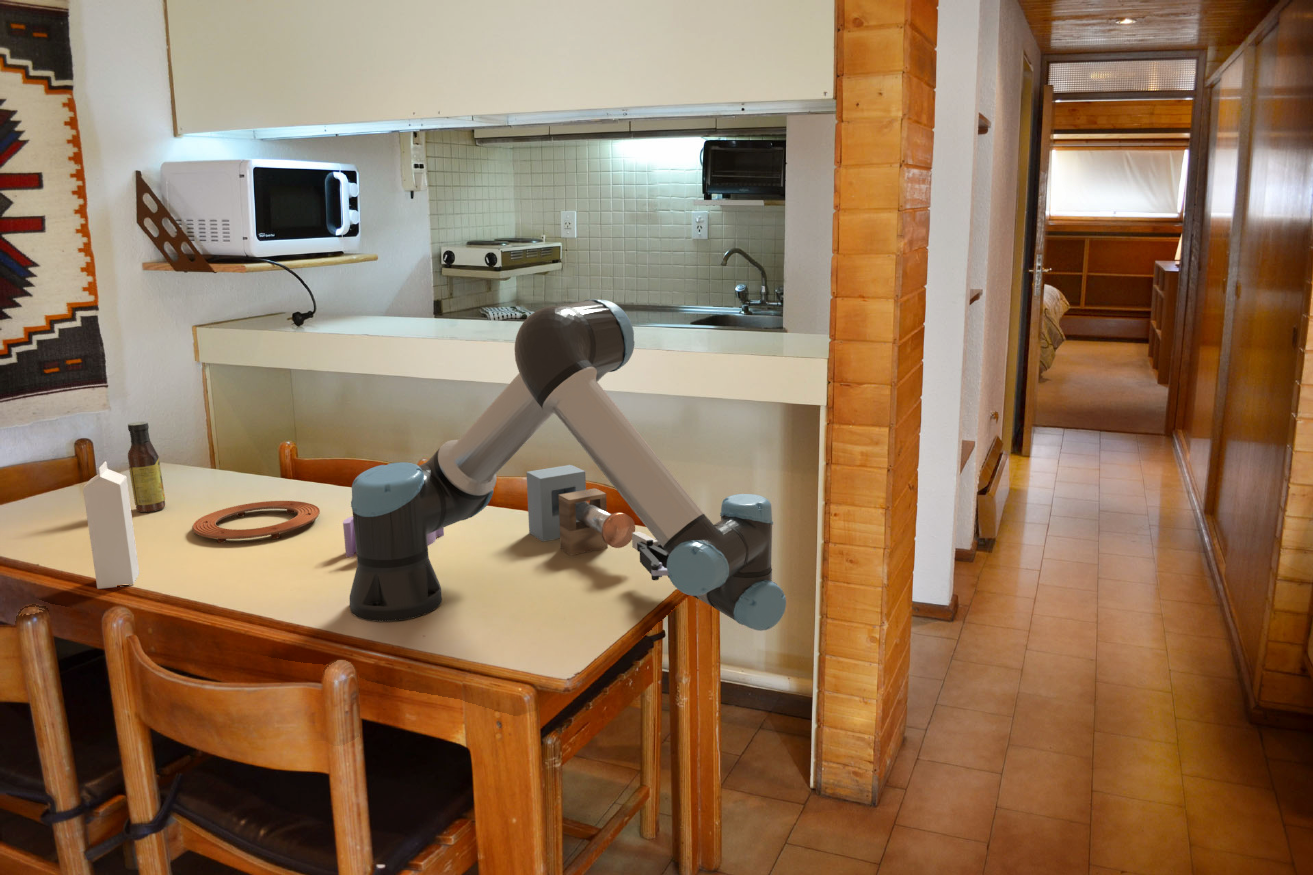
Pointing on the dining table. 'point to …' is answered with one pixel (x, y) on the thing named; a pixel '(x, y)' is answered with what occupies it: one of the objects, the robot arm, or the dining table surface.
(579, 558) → the dining table surface
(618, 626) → the dining table surface
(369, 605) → the robot arm
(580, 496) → the sleeve
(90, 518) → the milk
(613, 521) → the pin
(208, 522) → the ring
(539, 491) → the socket block
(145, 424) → the sauce bottle
